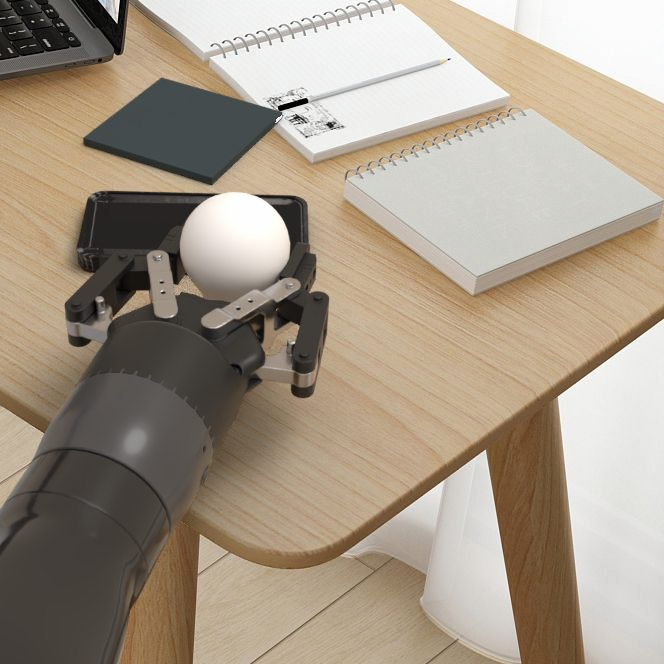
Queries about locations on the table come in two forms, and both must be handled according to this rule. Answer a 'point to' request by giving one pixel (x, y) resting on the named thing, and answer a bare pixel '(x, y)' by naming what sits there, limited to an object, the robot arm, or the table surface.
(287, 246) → the lightbulb
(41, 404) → the table surface
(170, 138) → the mat
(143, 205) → the phone
